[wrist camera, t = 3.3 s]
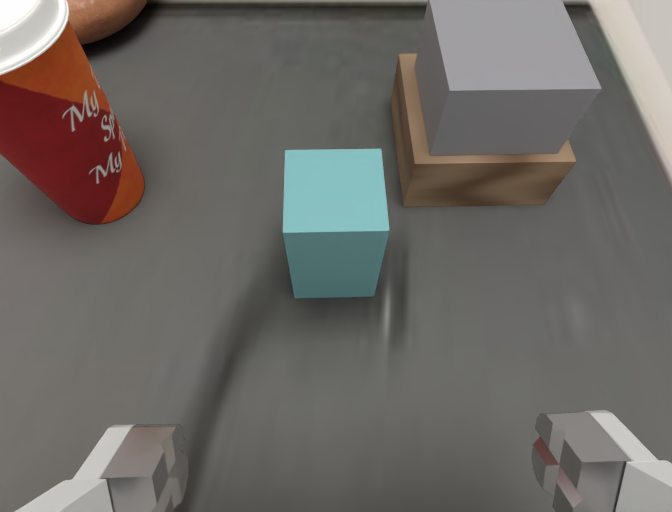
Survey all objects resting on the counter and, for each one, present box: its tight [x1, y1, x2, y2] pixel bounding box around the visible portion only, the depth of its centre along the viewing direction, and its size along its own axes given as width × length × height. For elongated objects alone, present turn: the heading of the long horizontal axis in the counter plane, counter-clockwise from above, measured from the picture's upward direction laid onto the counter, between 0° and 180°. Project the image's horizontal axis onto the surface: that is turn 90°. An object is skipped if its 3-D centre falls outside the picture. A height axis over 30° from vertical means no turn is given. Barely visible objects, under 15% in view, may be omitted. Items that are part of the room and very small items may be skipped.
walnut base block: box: [391, 54, 576, 207], centre depth 32 cm, size 10×10×5 cm
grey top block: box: [414, 0, 602, 156], centre depth 27 cm, size 8×8×5 cm
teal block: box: [283, 149, 389, 298], centre depth 25 cm, size 5×5×8 cm
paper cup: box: [0, 0, 145, 224], centre depth 25 cm, size 8×8×14 cm
